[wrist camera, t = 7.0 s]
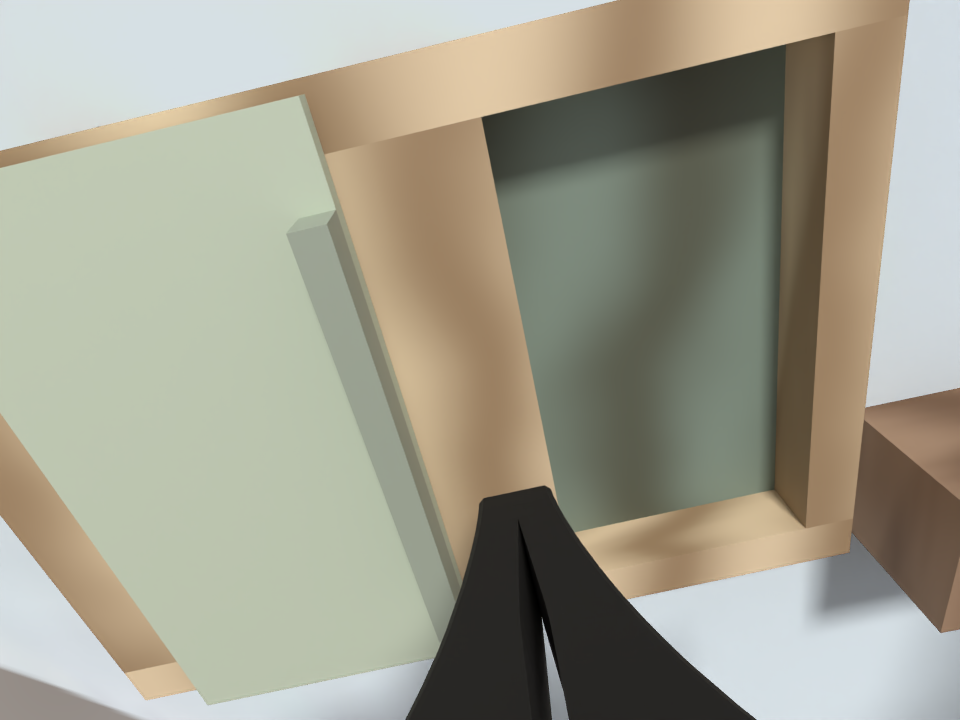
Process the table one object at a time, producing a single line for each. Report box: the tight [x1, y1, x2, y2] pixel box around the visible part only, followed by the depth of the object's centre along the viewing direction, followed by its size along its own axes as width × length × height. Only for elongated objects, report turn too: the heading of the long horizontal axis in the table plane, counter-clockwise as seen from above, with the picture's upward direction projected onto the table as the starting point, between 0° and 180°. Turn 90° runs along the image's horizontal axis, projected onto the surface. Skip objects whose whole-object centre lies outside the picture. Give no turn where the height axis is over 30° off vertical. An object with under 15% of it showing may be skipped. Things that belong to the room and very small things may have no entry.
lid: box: [0, 94, 462, 705], centre depth 15 cm, size 9×16×2 cm, turn 12°
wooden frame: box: [0, 0, 910, 700], centre depth 17 cm, size 24×17×3 cm
